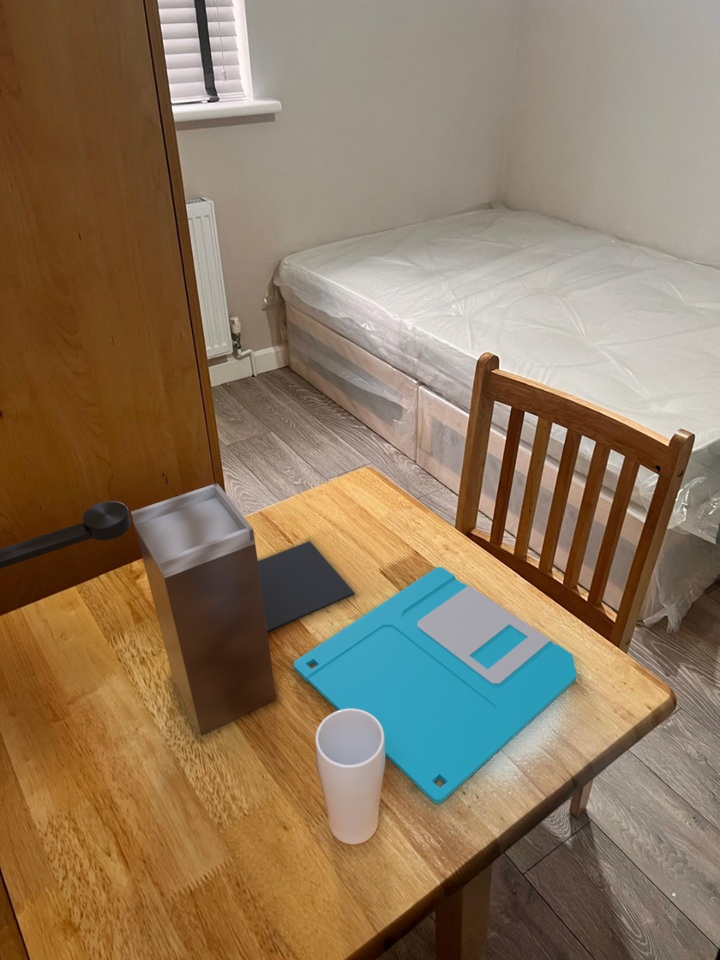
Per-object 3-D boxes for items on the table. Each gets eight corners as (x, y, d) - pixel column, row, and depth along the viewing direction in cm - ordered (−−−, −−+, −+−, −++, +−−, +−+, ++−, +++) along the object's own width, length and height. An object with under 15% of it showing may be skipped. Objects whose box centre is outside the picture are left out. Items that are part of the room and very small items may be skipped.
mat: (199, 662, 97) (199, 660, 97) (165, 599, 107) (164, 597, 107) (354, 594, 107) (354, 592, 107) (309, 542, 117) (309, 540, 117)
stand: (201, 736, 88) (160, 563, 72) (173, 680, 95) (130, 511, 79) (276, 700, 92) (253, 529, 76) (244, 648, 99) (217, 482, 83)
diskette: (291, 668, 96) (291, 663, 95) (439, 570, 111) (439, 565, 110) (437, 807, 79) (438, 802, 79) (587, 670, 94) (588, 665, 94)
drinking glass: (348, 867, 74) (344, 781, 66) (309, 819, 79) (300, 732, 70) (398, 826, 78) (400, 739, 69) (358, 782, 82) (355, 695, 74)
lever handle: (-63, 597, 65) (-69, 584, 64) (-68, 569, 68) (-74, 556, 67) (136, 531, 72) (133, 518, 72) (124, 508, 76) (121, 496, 75)
